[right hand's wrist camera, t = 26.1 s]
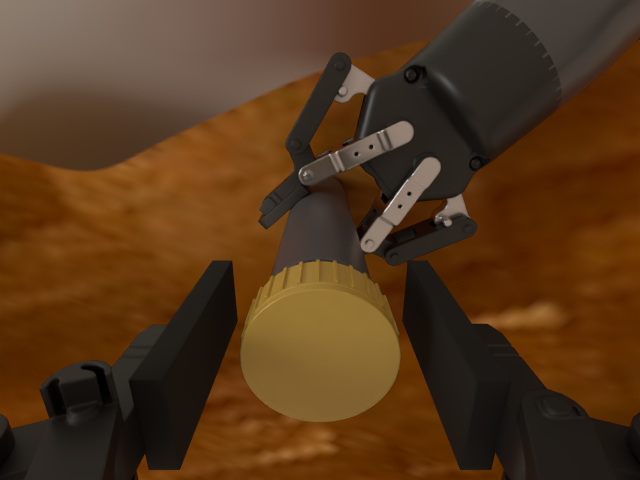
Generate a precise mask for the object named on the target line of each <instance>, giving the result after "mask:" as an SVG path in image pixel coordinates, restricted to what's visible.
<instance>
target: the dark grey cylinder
mask: <svg viewBox="0 0 640 480" xmlns="http://www.w3.org/2000/svg"><path fill="white" fill-rule="evenodd" d="M316 260H320V261H324V262H333V261H337V263H338V264H342V265H345V266H348V267H349V265H351V266H353V269H355V270H357V271H359V272H360V273H362V274H363V273H366V274H367V277H368V278H369V279H370V275H369V272H368V268H367V265H366V262H365V258H364V255H363V251H362V248H361V245H360V241H359V238H358V234H357V231H356V228H355V224H354V221H353V218H352V214H351V211H350V207H349V204H348V201H347V197H346V194H345V191H344V188H343V186H342V184H341V183H340V182H339V181H338V180H337V179H336V178H334V177H333V176H330V177H328V178H326V179H324V180H322V181H320V182H318V183H316V184H313V185H311V186H310V188H309V193H308V194H307V195H306V196H304V197H303V198H302V199H301V200H300V201H298V202H297V203H296V204H295V205H294V206H293V207H292V208H291V209H290V213H289V216H288V219H287V223H286V226H285V230H284V233H283V236H282V240H281V243H280V247H279V250H278V253H277V257H276V260H275V264H274V267H273V270H272V274H271V276H272V275H273V276H276V275H277V274H279V273H280V272H282V271H283V269H284V268H285V267H287V268H290V267H292V266H295V265H299V262H303V263H308V262H316ZM370 280H371V279H370Z"/></svg>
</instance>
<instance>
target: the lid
mask: <svg viewBox="0 0 640 480" xmlns="http://www.w3.org/2000/svg"><path fill="white" fill-rule="evenodd" d="M397 335H399V331H398V328H397V325H396V323H395V320H394V317H393V314H392V311H391V308H390V306H389V303H388V300H387V297H386V295H384V296H383V295H382V293H381V292H380V289H379V286H378V284H377V283H375V284H374V283H373V282H372V281H371V280H370V279H369V278H368V277H367V274H366V273H363V274H362V273H360V272H359V271H357V270H355V269H353V266H351V265H349V267H348V266H345V265H342V264H338V263H337V261H333V262H324V261H320V260H316V262H308V263H303V262H299V265H295V266H292V267H290V268H287V267H285V268H284V269H283V271H282V272H280V273H279V274H277V275H276V276H273V275H272V276H271V277H270V280H269V282H268V283H267V284H266V285H265V286H264V287H262V286H261V287H260V289H259V292H258V295H257V298H256V299H253V301H252V304H251V307H250V310H249V312H248V315H247V318H246V321H245V326H244V329H243V332H242V335H241V339H242V342H241V347H240V363H241V368H242V372H243V375H244V377H245V380H246V382H247V384H248V385H249V387H250V388H251V390H252V391H253V392H254V394H255V395H256V396H257V397H258V398H259V399H260V400H261V401H262V402H264V403H265V404H266V405H267V406H269V407H270V408H272V409H273V410H275V411H277V412H279V413H281V414H283V415H286V416H288V417H291V418H295V419H298V420H304V421H311V422H330V421H338V420H342V419H346V418H349V417H352V416H355V415H357V414H360V413H362V412H364V411H366V410H367V409H369V408H370V407H372V406H373V405H375V404H376V403H377V402H378V401H380V400H381V399H382V398H383V397H384V396H385V395H386V393H387V392H388V391H389V389H390V388H391V387H392V385H393V383H394V381H395V379H396V377H397V374H398V371H399V367H400V361H401V350H400V343H399V340H398V336H397Z"/></svg>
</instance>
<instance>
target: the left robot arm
mask: <svg viewBox="0 0 640 480" xmlns="http://www.w3.org/2000/svg"><path fill="white" fill-rule="evenodd" d="M639 39H640V0H474V1H473V3H472V4H471V5H470V6H468V7H467V8H466V9H465V10H464V11H463V12H462V13H461V14H460V15H459V16H458V17H456V18H455V19H454V20H453V21H452V22H451V23H450V24H449V25H448V26H447V27H446V28H444V29H443V30H442V31H441V32H440V33H439V34H438V35H437V36H436V37H435V38H433V39H432V40H431V41H430V42H429V43H428V44H427V45H426V46H425V47H424V48H422V49H421V50H420V51H419V52H418V53H417V54H416V55H415V56H414V57H413V58H411V59H410V60H409V61H408V62H407V63H406V64H405V65H404V66H403V67H402V68H400V69H399V70H398V71H397V72H395V73H394V74H391V75H387V76H383V77H380V78H378V79H376V80H375V79H373V78H372V77H370V76H369V75H367V74H366V73H364V72H363V71H361V70H360V69H358V68H357V67H355V66H354V65H352V64H351V60H350V58H349V56H348V55H346V54H345V53H336V54H334V55H333V56H332V57H331V59H330V61H329V63H328V64H327V66H326V68H325V70H324V72H323V74H322V75H321V77H320V79H319V81H318V83H317V85H316V86H315V88H314V90H313V92H312V94H311V96H310V97H309V99H308V101H307V103H306V105H305V107H304V108H303V110H302V112H301V114H300V116H299V118H298V119H297V121H296V123H295V125H294V127H293V129H292V130H291V132H290V134H289V136H288V138H287V140H286V148H287V150H288V152H289V153H290V155H291V158H292V160H293V163H294V172H293V173H292V174H291V175H290V176H288V177H287V178H286V179H285V180H284V181H283V182H282V183H281V184H280V185H279V186H277V187H276V188H275V189H274V190H273V191H272V192H271V193H270V194H269V195H268V196H266V198H265V199H264V201H263V203H262V205H261V207H260V209H259V210H260V211H261V212H262V213H263V214H262V215H261V217H260V219H259V221H258V222H259V223H260V224H261V225H262V226H263V227H264V228H265V229H268V228H269V227H270V226H271V225H273V224H274V223H275V222H276V221H277V220H278V219H279V218H281V217H282V216H283V215H284V214H285V213H286V212H287V211H289V210H290V209H291V208H292V207H293V206H294V205H295V204H296V203H297V202H298V201H300V200H301V199H302V198H303V197H304V196H306V195H307V194H308V193H309V188H310V186H311V185H313V184H316V183H318V182H320V181H322V180H324V179H326V178H328V177H330V176H332V175H335V174H337V173H339V172H344V171H347V170H349V169H351V168H353V167H355V166H357V165H359V164H360V166H361V167H362V168H363V169H364V170H365V172H367V173H368V174H370V175H371V176H373V177H374V179H375V181H376V184H377V185H378V187H379V188H380V189H381V192H380V193H379V194H378V196H377V197H376V199H375V200H374V202H373V205H372V207H371V209H370V211H369V212H368V213H367V215H366V216H365V218H364V219H363V220H362V222H361V223H360V225H359V226H358V228H357V229H356V231H357V234H358V238H359V241H360V245H361V248H362V251H363V255H365V254H368V253H373V254H376V255H378V256H380V257H382V258H383V259H385V260H386V262H387V263H388V264H389V265H392V266H396V265H399V264H402V263H404V262H407V261H409V260H412V259H414V258H417V257H420V256H422V255H425V254H427V253H430V252H432V251H435V250H437V249H440V248H443V247H445V246H448V245H450V244H453V243H455V242H458V241H461V240H463V239H466V238H468V237H471V236H472V235H474V234H475V232H476V230H477V224H476V222H475V221H473V220H472V219H471V218H470V217H469V216H468V213H467V210H466V207H465V204H464V201H463V197H462V194H461V193H462V192H463V191H464V190H465V189H466V187H467V185H468V183H469V181H470V179H471V178H472V176H473V175H474V174H475V173H476V172H477V171H478V170H479V169H481V168H482V167H484V166H485V165H487V164H488V163H490V162H491V161H493V160H494V159H495V158H497V157H498V156H499V155H500V154H502V153H503V152H504V151H506V150H507V149H508V148H509V147H511V146H512V145H513V144H514V143H516V142H517V141H518V140H520V139H521V138H522V137H523V136H525V135H526V134H527V133H528V132H530V131H531V130H532V129H534V128H535V127H536V126H537V125H539V124H540V123H541V122H543V121H544V120H545V119H546V118H548V117H549V116H550V115H552V114H553V113H554V112H555V111H556V110H558V109H559V108H560V107H562V106H563V105H564V104H565V103H567V102H568V101H569V100H571V99H572V98H573V97H574V96H576V95H577V94H578V93H579V92H581V91H582V90H583V89H585V88H586V87H587V86H588V85H590V84H591V83H592V82H593V81H594V80H596V79H597V78H598V77H599V76H600V75H602V74H603V73H604V72H605V71H606V70H607V69H608V68H609V67H610V66H611V65H612V64H613V63H614V62H615V61H616V60H617V59H618V58H619V57H620V56H621V55H622V54H623V53H624V52H625V51H626V50H627V49H628V48H629V47H631V46H632V45H633V44H634V43H635V42H637V41H638V40H639ZM355 94H363V95H364V99H363V103H362V107H361V111H360V115H359V119H358V123H357V128H356V132H355V136H353V137H351V138H349V139H347V140H345V141H343V142H341V143H339V144H337V145H335V146H333V147H331V148H330V149H328V150H326V151H324V152H322V153H320V154H318V155H316V156H314V154H313V152H312V149H311V147H310V144H309V143H310V141H311V139H312V137H313V135H314V134H315V132H316V130H317V128H318V127H319V125H320V123H321V121H322V120H323V118H324V116H325V114H326V113H327V111H328V109H329V107H330V105H331V104H332V102H333V100H334V101H336V102H337V103H345V102H347V101H349V100H350V99H351V97H352V96H353V95H355ZM440 199H443V201H442V203H441V205H440V206H439V207H437V208H436V209H434V210H433V211H432V213H431V218H429V219H427V220H424V221H422V222H419V223H417V224H414V225H412V226H409V227H407V228H404V229H402V230H399V231H397V232H394V233H392V234H390V235H388V233H389V232H390V231H391V229H392V228H393V227H396V226H397V225H398V224H399V223H400V222H401V221H402V219H403V218H404V217H405V215H406V214H407V213H408V211H409V210H410V209H411V207H412V206H413V205H414V203H415V202H419V201H430V200H440ZM398 205H400V206H398Z"/></svg>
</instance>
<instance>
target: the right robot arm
mask: <svg viewBox="0 0 640 480" xmlns="http://www.w3.org/2000/svg"><path fill="white" fill-rule="evenodd" d="M237 321H238V319H237V309H236V298H235V287H234V276H233V265H232V261H212V262H211V264H210V265H209V267H208V268H207V269H206V271H205V272H204V274H203V275H202V277H201V278H200V279H199V281H198V282H197V284H196V285H195V286H194V288H193V289H192V291H191V292H190V294H189V295H188V296H187V298H186V299H185V301H184V302H183V304H182V305H181V306H180V308H179V309H178V311H177V312H176V313H175V315H174V316H173V318H172V319H171V321H170V322H169V323H168V325H152V326H150V327H149V328H147V329H146V330H144V331H143V332H141V333H140V334H138V335H137V337H136V338H135V339H134V340H133V342H132V343H131V344H130V345H129V348H127V349H126V350H125V352H124V353H123V354H122V355H121V358H119V359H118V360H117V362H116V363H115V364H114V365H113V367H112V368H111V366H110V365H109V364H107V363H106V362H104V361H98V360H91V361H83V362H79V363H76V364H72V365H69V366H67V367H65V368H63V369H61V370H59V371H57V372H56V373H54V374H53V375H52V376H50V377H49V378H48V379H46V380H45V382H44V383H43V384H42V386H41V387H40V388H39V389H40V392H41V395H42V398H43V401H44V404H45V407H46V410H47V412H48V415H49V418H50V419H48V420H45V421H41V422H37V423H33V424H29V425H24V426H20V427H16V428H12V429H11V427H10V424H9V422H8V419H7V418H6V417H4V416H3V415H2V414H0V480H138V475H137V471H136V470H137V468H138V466H139V464H140V462H141V460H142V458H143V456H144V454H145V455H146V460H147V464H148V468H149V470H180V468H181V465H182V463H183V460H184V458H185V455H186V453H187V450H188V447H189V445H190V442H191V440H192V437H193V434H194V432H195V429H196V427H197V424H198V422H199V419H200V416H201V414H202V411H203V409H204V406H205V404H206V401H207V398H208V396H209V393H210V391H211V388H212V386H213V383H214V380H215V378H216V375H217V373H218V370H219V367H220V365H221V362H222V360H223V357H224V355H225V352H226V349H227V347H228V344H229V342H230V339H231V337H232V334H233V331H234V329H235V326H236V324H237ZM402 321H403V324H404V326H405V329H406V331H407V334H408V337H409V339H410V342H411V344H412V347H413V349H414V352H415V355H416V357H417V360H418V362H419V365H420V367H421V370H422V373H423V375H424V378H425V380H426V383H427V386H428V388H429V391H430V393H431V396H432V398H433V401H434V404H435V406H436V409H437V411H438V414H439V416H440V419H441V422H442V424H443V427H444V429H445V432H446V434H447V437H448V440H449V442H450V445H451V447H452V450H453V453H454V455H455V458H456V460H457V463H458V465H459V468H460V470H491V468H492V464H493V460H494V455H495V452H496V454H497V456H498V458H499V460H500V462H501V464H502V466H503V468H504V471H503V475H502V479H501V480H640V413H638V414H637V415H635V416H634V417H633V419H632V422H631V424H630V427H627V426H622V425H618V424H614V423H610V422H605V421H601V420H597V419H593V418H590V417H589V416H588V414H587V413H586V411H585V410H584V409H583V408H582V407H581V406H580V405H579V404H577V403H576V402H575V401H574V400H572V399H570V398H568V397H566V396H565V395H563V394H561V393H558V392H555V391H552V390H549V389H547V388H546V387H545V386H544V385H543V383H542V382H541V381H540V380H539V379H538V377H537V376H536V375H535V374H534V372H533V371H532V370H531V369H530V367H529V366H528V365H527V364H526V362H525V361H524V360H523V359H522V358H521V357H519V354H518V353H517V351H516V350H515V349H514V348H513V347H511V344H510V343H509V341H508V340H507V339H506V338H505V336H504V335H503V334H502V333H501V332H499V331H498V330H496V329H495V328H493V327H492V326H490V325H489V324H472V323H471V322H470V321H469V319H468V318H467V316H466V315H465V313H464V312H463V311H462V309H461V308H460V306H459V305H458V304H457V302H456V301H455V299H454V298H453V296H452V295H451V294H450V292H449V291H448V289H447V288H446V286H445V285H444V284H443V282H442V281H441V279H440V278H439V277H438V275H437V274H436V272H435V271H434V269H433V268H432V267H431V265H430V264H429V262H428V261H408V265H407V276H406V287H405V298H404V309H403V319H402Z"/></svg>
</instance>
